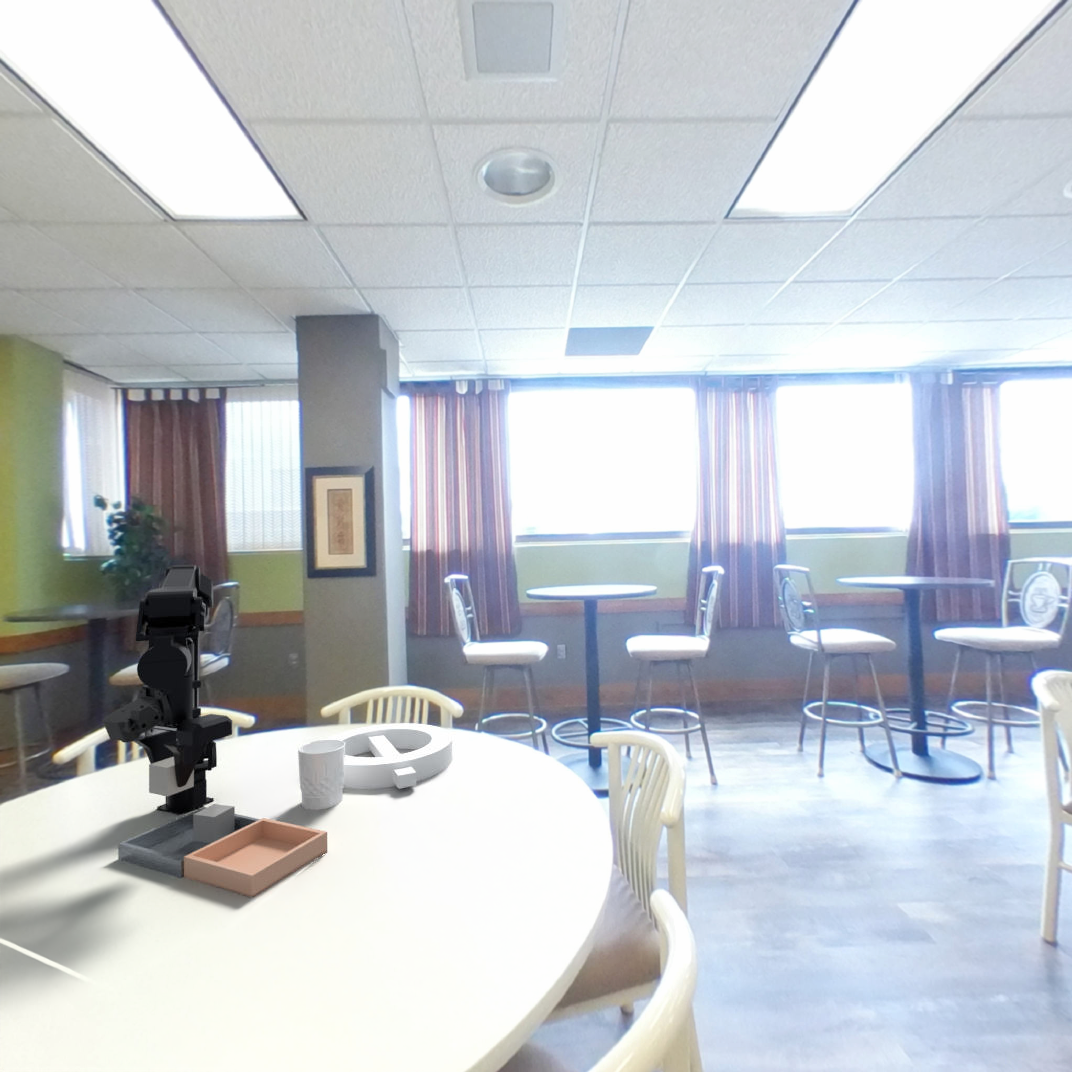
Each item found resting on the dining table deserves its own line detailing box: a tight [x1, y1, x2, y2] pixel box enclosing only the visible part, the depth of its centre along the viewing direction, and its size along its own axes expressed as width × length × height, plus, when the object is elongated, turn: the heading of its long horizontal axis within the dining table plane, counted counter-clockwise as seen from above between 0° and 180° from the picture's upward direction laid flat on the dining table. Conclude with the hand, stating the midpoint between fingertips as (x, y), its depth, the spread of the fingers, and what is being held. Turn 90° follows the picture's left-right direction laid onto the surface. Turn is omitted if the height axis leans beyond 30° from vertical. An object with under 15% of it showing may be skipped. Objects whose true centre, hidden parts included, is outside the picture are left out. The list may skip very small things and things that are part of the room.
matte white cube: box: [148, 757, 194, 797], centre depth 87 cm, size 4×4×4 cm
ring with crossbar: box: [324, 723, 453, 790], centre depth 126 cm, size 28×28×5 cm
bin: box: [117, 806, 261, 879], centre depth 90 cm, size 14×14×2 cm
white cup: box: [297, 739, 345, 811], centre depth 106 cm, size 8×8×10 cm
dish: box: [183, 817, 328, 899], centre depth 84 cm, size 13×13×3 cm
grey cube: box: [193, 803, 236, 843], centre depth 93 cm, size 4×4×4 cm
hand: (171, 784), depth 87 cm, fingers closed on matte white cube, 4 cm apart
